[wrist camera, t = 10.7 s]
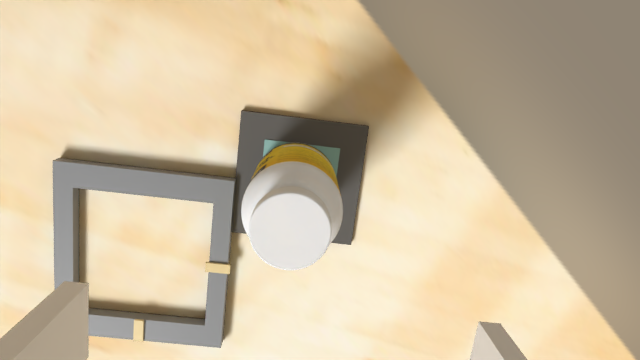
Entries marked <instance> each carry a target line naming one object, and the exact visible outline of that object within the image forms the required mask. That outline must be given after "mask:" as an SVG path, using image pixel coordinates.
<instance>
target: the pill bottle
mask: <svg viewBox="0 0 640 360" xmlns="http://www.w3.org/2000/svg"><path fill="white" fill-rule="evenodd" d="M241 217H242V223H243V226H244V229H245V231H246V233H247V235H248V237H249V238H250V242H251V245H252V247H253V249H254V251H255V252H256V254H257V255H258V256H259V257H260V258H261V259H262V260H263V261H264V262H266V263H267V264H269V265H271V266H273V267H275V268H279V269H283V270H298V269H302V268H305V267H308V266H310V265H312V264H313V263H315V262H316V261H317V260H319V259H320V258H321V257H322V256H323V254H324V253H325V251H326V250H327V248H328V246H329V244H330V243H331V242H332V241H333V240H334V238H335V237H336V235H337V233H338V231H339V229H340V226H341V223H342V217H343V204H342V198H341V194H340V190H339V186H338V182H337V179H336V175H335V172H334V169H333V166H332V164H331V162H330V161H329V159H328V158H327V157H326V156H325V155H324V154H323V153H322V152H321V151H320V150H318V149H317V148H315V147H313V146H311V145H308V144H305V143H299V142H291V143H285V144H282V145H279V146H277V147H275V148H273V149H272V150H270V151H269V152H268V153H267V154H266V155H265V156H264V157H263V158H262V159H261V161H260V162H259V164H258V166H257V168H256V170H255V172H254V175H253V177H252V179H251V181H250V183H249V185H248V187H247V189H246V191H245V194H244V196H243V200H242V206H241Z"/></svg>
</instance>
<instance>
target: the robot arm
mask: <svg viewBox="0 0 640 360" xmlns="http://www.w3.org/2000/svg"><path fill="white" fill-rule="evenodd" d="M88 304H89V283H79V282H68V281H64V282H63V283H62V284H61V285H60V286H59V287H57V288H56V289H55V290H54V291H53V292H52V293H51V294H50V295H49V296H47V297H46V298H45V299H44V300H43V301H42V302H41V303H40V304H39V305H37V306H36V307H35V308H34V309H33V310H32V311H31V312H30V313H28V314H27V315H26V316H25V317H24V318H23V319H22V320H21V321H20V322H18V323H17V324H16V325H15V326H14V327H13V328H12V329H11V330H10V331H8V332H7V333H6V334H5V335H4V336H3V337H2V338H1V339H0V360H86V359H87V358H88ZM470 360H527V359H526V357H525V356H524V355H523V353H522V352H521V351H520V349H519V348H518V347H517V345H516V344H515V343H514V341H513V340H512V339H511V337H510V336H509V335H508V333H507V332H506V331H505V329H504V328H503V327H502V325H501V324H499V323H489V322H478V326H477V331H476V335H475V339H474V343H473V348H472V352H471V356H470Z"/></svg>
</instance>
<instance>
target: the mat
mask: <svg viewBox="0 0 640 360" xmlns="http://www.w3.org/2000/svg"><path fill="white" fill-rule="evenodd" d="M368 129H369V126H365V125H357V124H349V123H341V122H333V121H324V120H316V119H308V118H300V117H292V116H284V115H275V114H267V113H259V112H251V111H243V110H242V111H241V122H240V134H239V146H238V158H237V170H236V182H235V193H234V205H233V217H232V229H231V232H236V233H245V234H247V233H246V231H245V229H244V226H243V223H242V217H241V206H242V200H243V196H244V194H245V191H246V189H247V187H248V185H249V183H250V181H251V179H252V177H253V175H254V172H255V170H256V168H257V166H258V164H259V162H260V161H261V159H262V158H263V157H264V156H265V155H266V154H267V153H268V152H269V151H270V150H272V149H273V148H275V147H277V146H279V145H282V144H285V143H291V142H299V143H305V144H308V145H311V146H313V147H315V148H317V149H318V150H320V151H321V152H322V153H323V154H324V155H325V156H326V157H327V158H328V159H329V161H330V162H331V164H332V166H333V169H334V172H335V175H336V179H337V182H338V186H339V190H340V194H341V198H342V204H343V217H342V223H341V226H340V229H339V231H338V233H337V235H336V237H335V238H334V240H333V241H332V242H331V243H339V244H348V245H351V241H352V235H353V228H354V222H355V215H356V208H357V202H358V195H359V189H360V182H361V175H362V169H363V162H364V155H365V149H366V142H367V136H368Z"/></svg>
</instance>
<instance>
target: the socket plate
mask: <svg viewBox="0 0 640 360" xmlns="http://www.w3.org/2000/svg"><path fill="white" fill-rule="evenodd" d="M235 182H236V178H230V177H221V176H212V175H204V174H195V173H186V172H177V171H169V170H160V169H151V168H142V167H133V166H125V165H116V164H107V163H98V162H90V161H81V160H72V159H63V158H58V159H56V160H53V214H54V281H55V289H56V288H57V287H59V286H60V285H61V284H62V283H63V282H64V281H68V282H79V188H80V189H89V190H98V191H107V192H116V193H125V194H134V195H144V196H153V197H162V198H171V199H180V200H189V201H198V202H207V203H214V206H213V219H212V233H211V247H210V261H209V262H206V267H205V272H209V274H208V288H207V302H206V316H205V319H198V318H188V317H178V316H167V315H157V314H146V313H136V312H126V311H115V310H105V309H94V308H88V336H99V337H110V338H121V339H131V340H133V341H137V342H143V341H153V342H164V343H174V344H185V345H196V346H207V347H218V348H221V345H222V342H223V332H224V320H225V308H226V296H227V285H228V274H230V267H231V264H229V261H230V249H231V237H232V232H231V229H232V217H233V205H234V193H235Z"/></svg>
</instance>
